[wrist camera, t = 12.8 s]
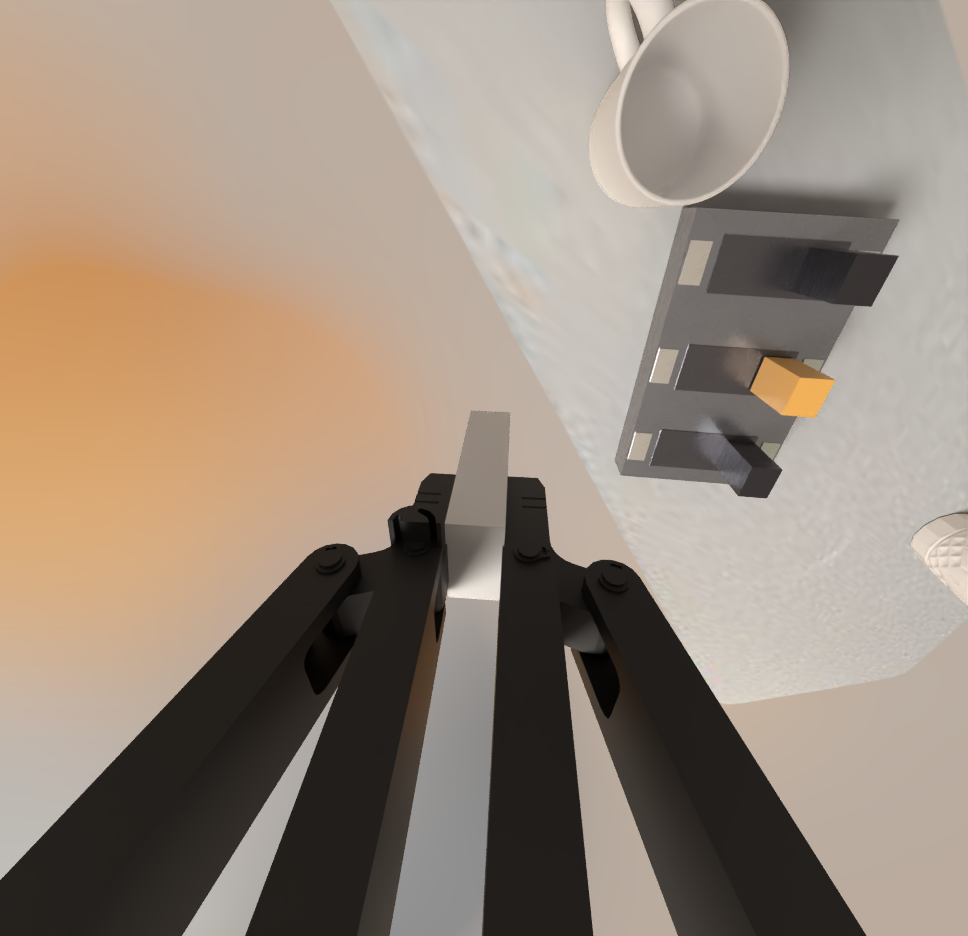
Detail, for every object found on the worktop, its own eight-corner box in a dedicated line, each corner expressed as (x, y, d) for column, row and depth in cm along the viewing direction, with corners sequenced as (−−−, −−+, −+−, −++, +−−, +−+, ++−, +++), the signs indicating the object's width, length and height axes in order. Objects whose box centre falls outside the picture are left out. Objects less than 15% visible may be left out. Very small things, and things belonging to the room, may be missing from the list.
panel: (682, 207, 31) (728, 206, 24) (868, 218, 31) (966, 221, 24) (614, 459, 43) (632, 505, 37) (745, 470, 43) (788, 518, 36)
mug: (543, 55, 27) (555, -18, 18) (665, -49, 24) (747, -193, 16) (613, 230, 32) (648, 237, 23) (720, 161, 29) (805, 140, 21)
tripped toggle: (764, 356, 33) (800, 377, 29) (795, 358, 33) (835, 380, 29) (750, 390, 35) (781, 415, 31) (779, 392, 35) (814, 417, 31)
